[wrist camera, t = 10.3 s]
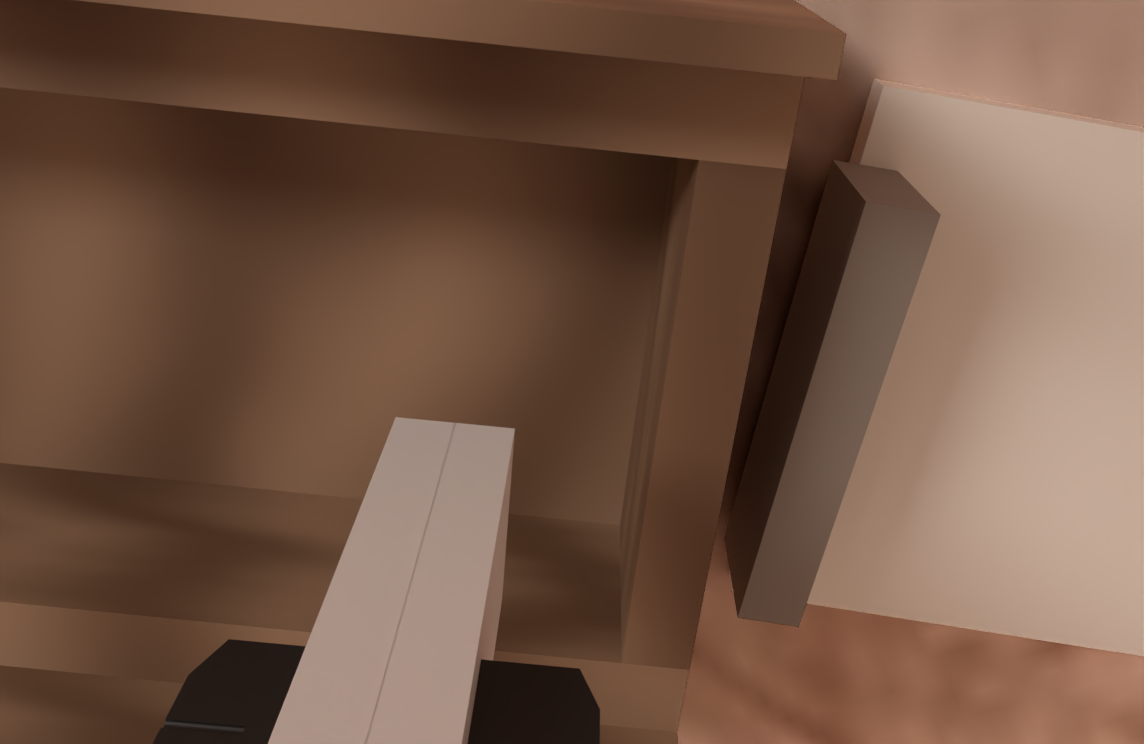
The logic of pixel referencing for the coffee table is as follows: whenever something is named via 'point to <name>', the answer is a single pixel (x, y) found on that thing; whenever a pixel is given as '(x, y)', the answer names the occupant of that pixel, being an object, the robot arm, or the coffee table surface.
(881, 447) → the cover plate
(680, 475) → the walnut box
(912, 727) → the coffee table surface
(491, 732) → the robot arm
